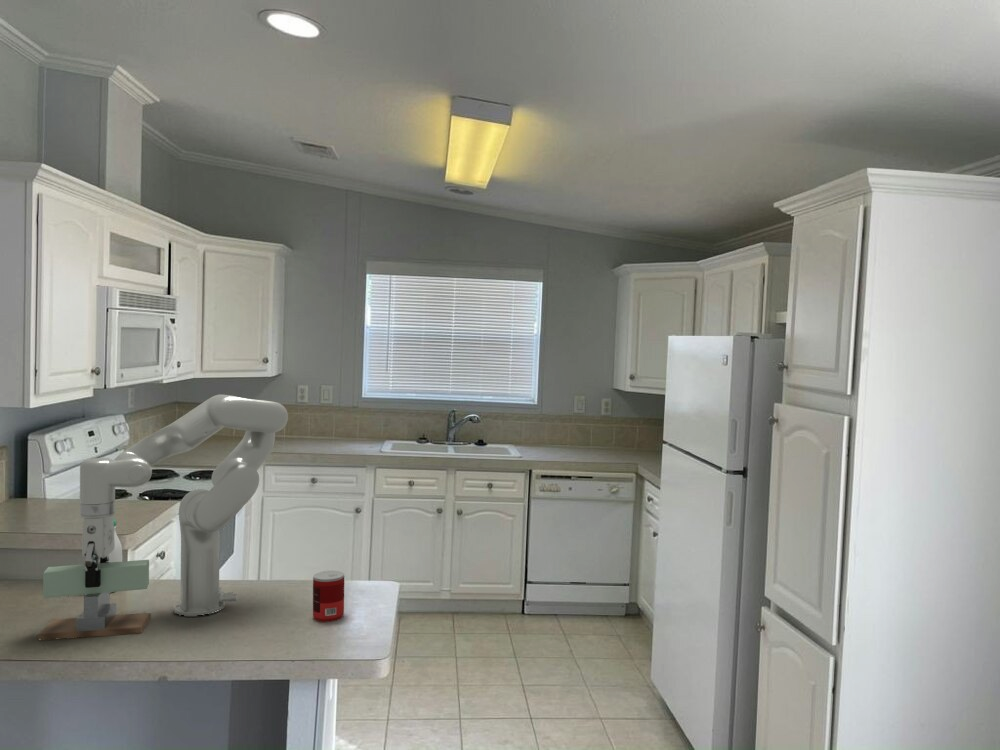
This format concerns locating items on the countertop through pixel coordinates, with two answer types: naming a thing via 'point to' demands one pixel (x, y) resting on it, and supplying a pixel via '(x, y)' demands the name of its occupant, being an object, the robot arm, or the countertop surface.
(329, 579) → the canned food
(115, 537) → the milk bottle
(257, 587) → the countertop surface
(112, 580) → the beam
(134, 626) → the stand
